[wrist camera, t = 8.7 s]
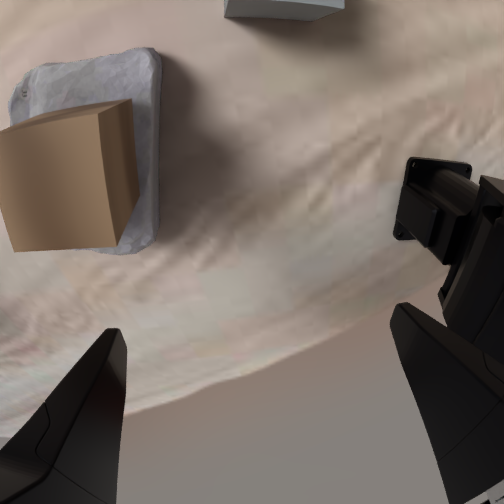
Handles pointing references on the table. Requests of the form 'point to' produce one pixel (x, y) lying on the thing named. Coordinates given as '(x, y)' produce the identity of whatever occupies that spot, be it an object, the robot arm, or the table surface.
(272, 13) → the slate cube
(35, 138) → the walnut cube
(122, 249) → the stone block
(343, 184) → the table surface
